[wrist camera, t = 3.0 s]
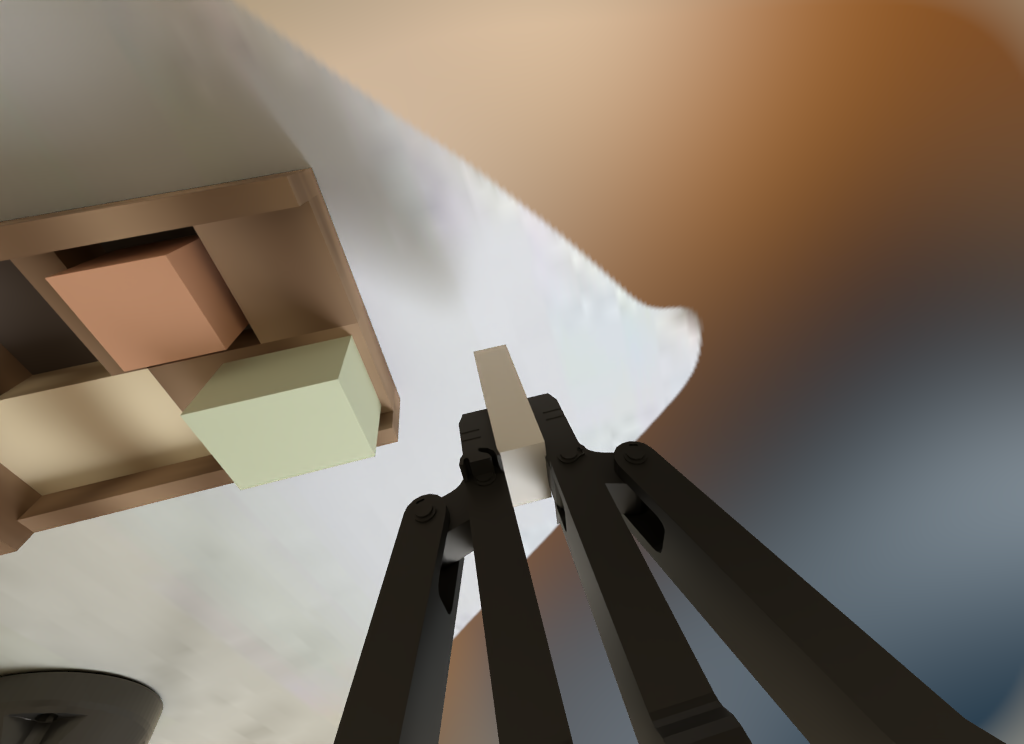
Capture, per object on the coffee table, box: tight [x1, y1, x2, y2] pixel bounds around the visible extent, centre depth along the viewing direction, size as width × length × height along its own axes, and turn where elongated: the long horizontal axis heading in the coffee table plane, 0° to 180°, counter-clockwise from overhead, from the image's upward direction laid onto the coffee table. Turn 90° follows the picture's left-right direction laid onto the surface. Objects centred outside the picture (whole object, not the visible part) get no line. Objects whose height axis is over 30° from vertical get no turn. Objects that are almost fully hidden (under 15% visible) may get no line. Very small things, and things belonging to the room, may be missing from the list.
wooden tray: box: [0, 168, 400, 555], centre depth 17 cm, size 19×13×5 cm
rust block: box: [45, 234, 249, 372], centre depth 16 cm, size 4×4×4 cm
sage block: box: [180, 335, 381, 490], centre depth 18 cm, size 6×4×4 cm
